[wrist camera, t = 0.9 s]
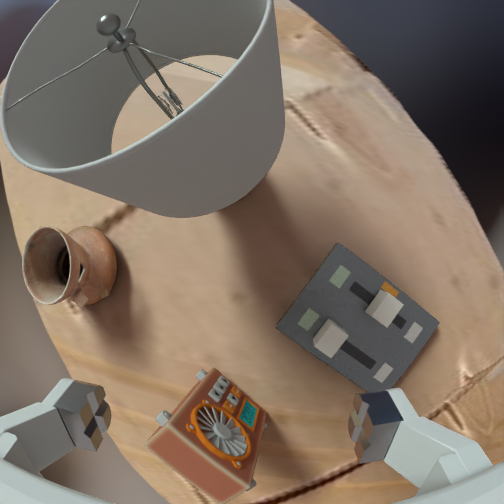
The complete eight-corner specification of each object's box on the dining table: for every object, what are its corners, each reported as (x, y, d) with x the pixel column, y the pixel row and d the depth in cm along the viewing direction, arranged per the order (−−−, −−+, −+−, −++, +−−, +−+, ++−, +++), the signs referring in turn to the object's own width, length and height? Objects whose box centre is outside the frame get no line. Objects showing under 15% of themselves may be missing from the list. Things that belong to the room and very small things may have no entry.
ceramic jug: (141, 272, 53) (96, 274, 39) (98, 323, 54) (50, 336, 40) (89, 205, 55) (42, 191, 41) (52, 256, 56) (4, 254, 42)
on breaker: (344, 329, 45) (349, 335, 40) (327, 350, 45) (331, 358, 41) (328, 318, 45) (332, 323, 41) (312, 339, 45) (314, 346, 41)
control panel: (211, 358, 51) (275, 414, 49) (186, 383, 51) (248, 436, 49) (162, 412, 30) (263, 490, 28) (131, 441, 30) (225, 513, 28)
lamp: (308, 206, 50) (344, 52, 11) (194, 254, 52) (-3, 234, 13) (260, 105, 51) (208, -85, 13) (158, 152, 54) (5, 32, 15)
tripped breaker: (394, 301, 44) (403, 304, 40) (379, 322, 44) (387, 327, 40) (380, 290, 44) (388, 292, 40) (364, 311, 44) (371, 316, 40)
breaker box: (432, 319, 46) (440, 322, 43) (376, 393, 47) (381, 400, 44) (335, 243, 49) (338, 242, 46) (276, 324, 50) (275, 328, 47)
